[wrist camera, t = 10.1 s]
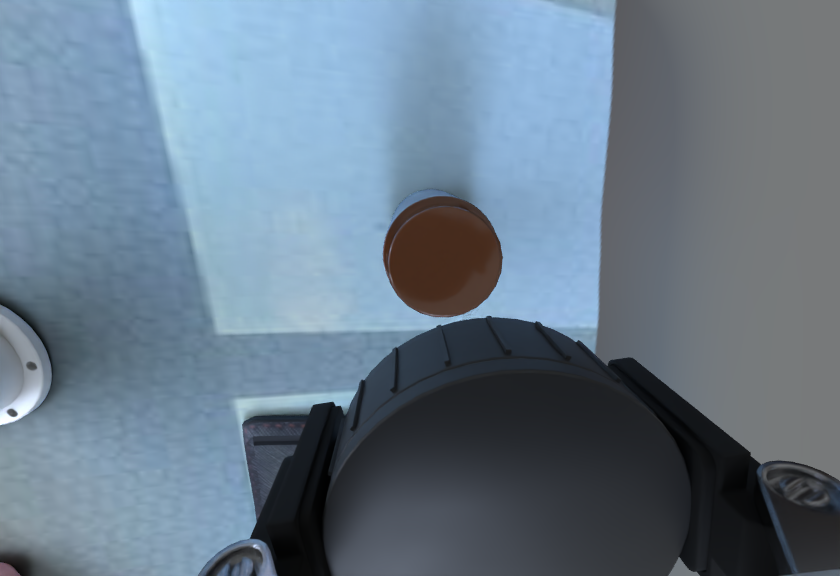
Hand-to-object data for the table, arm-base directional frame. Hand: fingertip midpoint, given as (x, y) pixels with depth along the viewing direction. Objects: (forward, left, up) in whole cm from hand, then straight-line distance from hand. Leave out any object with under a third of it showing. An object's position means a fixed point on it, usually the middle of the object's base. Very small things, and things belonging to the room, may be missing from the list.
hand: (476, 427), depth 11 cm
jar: (+2, +1, -23) cm, 23 cm away
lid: (0, 0, +3) cm, 3 cm away
